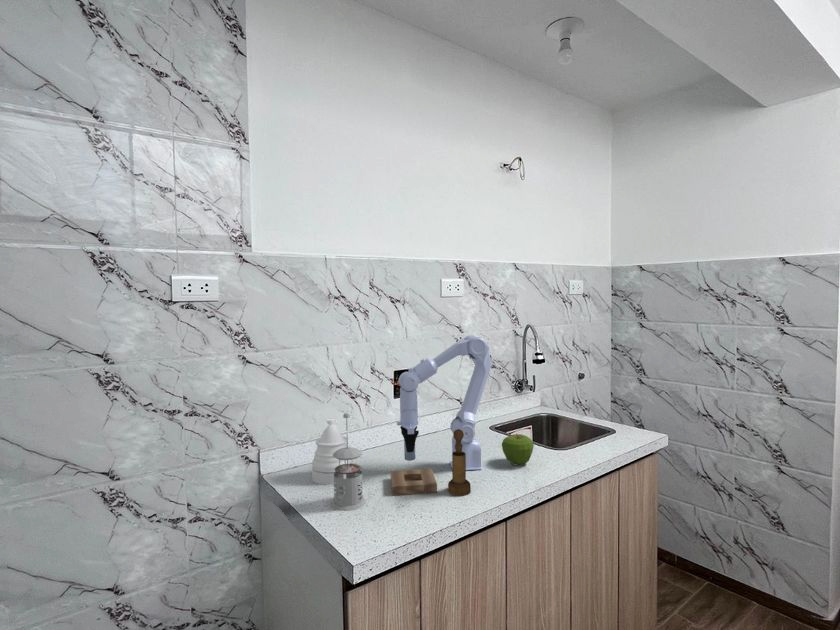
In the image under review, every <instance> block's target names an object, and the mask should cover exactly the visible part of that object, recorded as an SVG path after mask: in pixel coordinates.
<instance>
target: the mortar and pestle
mask: <svg viewBox="0 0 840 630" xmlns="http://www.w3.org/2000/svg"><path fill="white" fill-rule="evenodd" d="M452 434H453V436H454V438H455V440H456V445H455V449H456V451H455V452H453V453H452V452H451V459H452V460H451V461H452V467H451V469H452V479H451V480H450V481H449V482H448V483H447V485H448V486H447V487H448V488H447V491H448V493H449V494H450V495H453V496H456V497H463V496H467V495H469V494H470V493H471V490H472V488H471V487H472V486H471V483H470V481H468V479H467V476H466V475H467V470H466V454H465V453H464V452H462V447H463V445H461V440H462V439H463V436H464V433H463V431H462V430H460V429H457V430H455V431H454V433H453V432H452ZM453 436H452V437H453Z"/></svg>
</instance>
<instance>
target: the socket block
mask: <svg viewBox="0 0 840 630" xmlns="http://www.w3.org/2000/svg"><path fill="white" fill-rule="evenodd" d="M390 485H391V495H392V496H404V495H405V496H406V495H418V494H419V495H421V494H437V493H438V483H437V480H436V478H435V474H434V472H433V469H432V468H425V469H423V468H422V469H403V470H402V469H401V470H391V471H390Z"/></svg>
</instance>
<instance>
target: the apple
mask: <svg viewBox="0 0 840 630" xmlns="http://www.w3.org/2000/svg"><path fill="white" fill-rule="evenodd" d="M534 446H535V445H534V442H533V440H532V438H530V437H529V436H527V435H524V434H512V435H508V436H506V437H504V438H503V440H502V442H501V447H502V448H501V449H502V452H503V454H504V456H505V458H506V460H507V461H508V462H510V463H511V464H512V465H513V466H524V465H525V464H527V463H528V462H529V461H530V459H531V456H532V454H533V451H534Z"/></svg>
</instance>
